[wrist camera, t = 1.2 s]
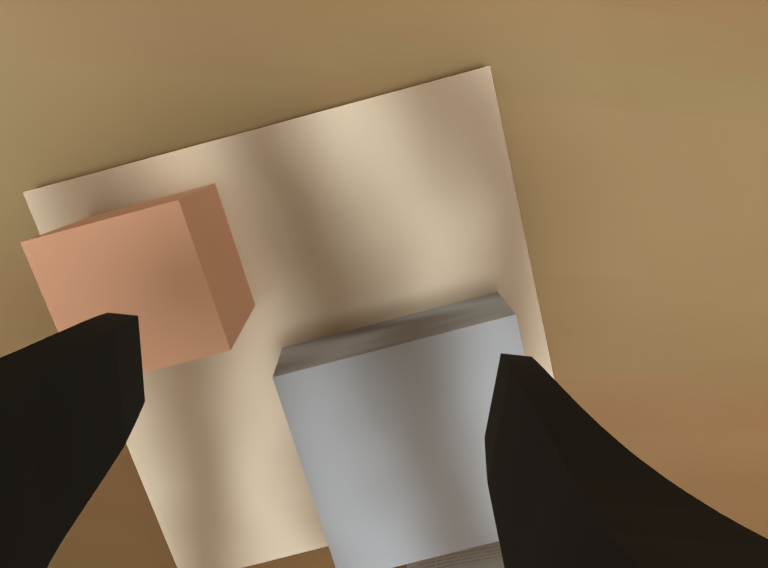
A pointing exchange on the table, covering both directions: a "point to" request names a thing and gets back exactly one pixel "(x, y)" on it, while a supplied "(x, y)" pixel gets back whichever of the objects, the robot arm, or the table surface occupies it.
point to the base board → (339, 332)
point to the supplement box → (466, 558)
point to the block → (150, 274)
